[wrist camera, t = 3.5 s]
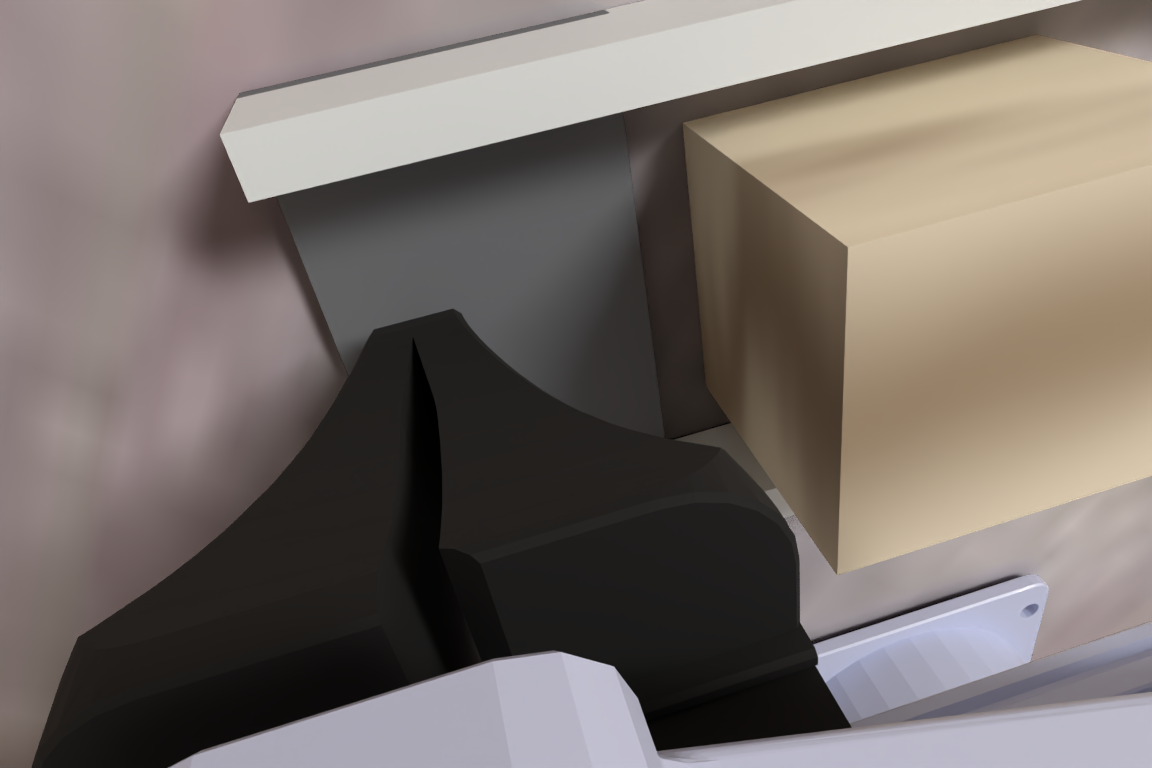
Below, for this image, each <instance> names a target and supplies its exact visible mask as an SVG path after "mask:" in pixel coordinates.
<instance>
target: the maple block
mask: <svg viewBox="0 0 1152 768" xmlns="http://www.w3.org/2000/svg"><path fill="white" fill-rule="evenodd" d="M683 133H684V144H685V156H686V167H687V178H688V189H689V201H690V212H691V223H692V234H693V245H694V257H695V268H696V279H697V290H698V301H699V313H700V324H701V335H702V346H703V357H704V369H705V380H706V387H707V389H708V390H709V392H710V393H711V394H712V396H713V397H714V399H715V400H716V402H717V403H718V405H719V406H720V407H721V409H722V410H723V412H724V413H725V415H726V416H727V417H728V419H729V420H730V422H731V423H732V425H733V426H734V428H735V429H736V430H737V432H738V433H739V435H740V436H741V438H742V439H743V440H744V442H745V443H746V445H747V446H748V448H749V449H750V451H751V452H752V453H753V455H754V456H755V458H756V459H757V461H758V462H759V464H760V465H761V466H762V468H763V469H764V471H765V472H766V474H767V475H768V476H769V478H770V479H771V481H772V482H773V484H774V485H775V487H776V488H777V489H778V491H779V492H780V494H781V495H782V497H783V498H784V499H785V501H786V502H787V504H788V505H789V507H790V508H791V510H792V511H793V512H794V514H795V515H796V517H797V518H798V520H799V521H800V523H801V524H802V525H803V527H804V528H805V530H806V531H807V533H808V534H809V535H810V537H811V538H812V540H813V541H814V543H815V544H816V546H817V547H818V548H819V550H820V551H821V553H822V554H823V556H824V557H825V558H826V560H827V561H828V563H829V564H830V566H831V567H832V569H833V570H834V571H835V573H836V574H837V575H840V574H843V573H846V572H850V571H853V570H856V569H859V568H862V567H865V566H869V565H872V564H875V563H878V562H881V561H884V560H887V559H891V558H894V557H897V556H900V555H903V554H906V553H910V552H913V551H916V550H919V549H922V548H925V547H928V546H932V545H935V544H938V543H941V542H944V541H947V540H951V539H954V538H957V537H960V536H963V535H966V534H969V533H973V532H976V531H979V530H982V529H985V528H988V527H992V526H995V525H998V524H1001V523H1004V522H1007V521H1010V520H1014V519H1017V518H1020V517H1023V516H1026V515H1029V514H1032V513H1036V512H1039V511H1042V510H1045V509H1048V508H1051V507H1055V506H1058V505H1061V504H1064V503H1067V502H1070V501H1073V500H1077V499H1080V498H1083V497H1086V496H1089V495H1092V494H1096V493H1099V492H1102V491H1105V490H1108V489H1111V488H1114V487H1118V486H1121V485H1124V484H1127V483H1130V482H1133V481H1137V480H1140V479H1143V478H1146V477H1149V476H1152V62H1150V61H1146V60H1141V59H1137V58H1133V57H1129V56H1125V55H1120V54H1116V53H1112V52H1108V51H1104V50H1099V49H1095V48H1091V47H1087V46H1083V45H1078V44H1074V43H1070V42H1066V41H1061V40H1057V39H1053V38H1049V37H1045V36H1040V35H1032V36H1028V37H1024V38H1020V39H1016V40H1012V41H1008V42H1004V43H1000V44H996V45H992V46H988V47H984V48H980V49H976V50H972V51H968V52H964V53H960V54H956V55H952V56H948V57H944V58H940V59H936V60H932V61H928V62H924V63H920V64H916V65H912V66H908V67H904V68H900V69H896V70H892V71H888V72H884V73H880V74H876V75H872V76H868V77H864V78H860V79H856V80H852V81H848V82H844V83H840V84H836V85H832V86H828V87H824V88H820V89H816V90H812V91H808V92H804V93H800V94H796V95H792V96H788V97H784V98H780V99H776V100H772V101H768V102H764V103H760V104H756V105H752V106H748V107H744V108H740V109H736V110H732V111H728V112H724V113H720V114H716V115H712V116H708V117H704V118H700V119H696V120H692V121H688V122H684V123H683Z"/></svg>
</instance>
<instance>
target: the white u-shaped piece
mask: <svg viewBox="0 0 1152 768" xmlns="http://www.w3.org/2000/svg"><path fill="white" fill-rule="evenodd" d="M1076 1H1080V0H645V1H641V2H636V3H632V4H628V5H623V6H619V7H615V8H610V9H606V10H601V11H597V12H593V13H588V14H584V15H580V16H575V17H571V18H566V19H562V20H558V21H553V22H549V23H545V24H540V25H536V26H531V27H527V28H523V29H518V30H514V31H509V32H505V33H501V34H496V35H492V36H488V37H483V38H479V39H474V40H470V41H466V42H461V43H457V44H453V45H448V46H444V47H439V48H435V49H431V50H426V51H422V52H418V53H413V54H409V55H404V56H400V57H396V58H391V59H387V60H382V61H378V62H374V63H369V64H365V65H361V66H356V67H352V68H347V69H343V70H339V71H334V72H330V73H326V74H321V75H317V76H312V77H308V78H304V79H299V80H295V81H291V82H286V83H282V84H277V85H273V86H269V87H264V88H260V89H255V90H251V91H247V92H242V93H239V95H238V97H237V99H236V101H235V104H234V106H233V108H232V110H231V112H230V114H229V116H228V118H227V120H226V123H225V125H224V127H223V129H222V131H221V133H220V137H221V139H222V141H223V144H224V146H225V148H226V151H227V153H228V156H229V158H230V160H231V163H232V165H233V167H234V170H235V172H236V174H237V177H238V179H239V181H240V184H241V186H242V188H243V191H244V193H245V196H246V198H247V200H248V203H249V202H254V201H258V200H262V199H266V198H270V197H274V196H276V197H277V200H278V202H279V205H280V207H281V210H282V212H283V215H284V217H285V220H286V222H287V225H288V227H289V229H290V232H291V234H292V237H293V239H294V242H295V244H296V247H297V249H298V252H299V254H300V257H301V259H302V262H303V264H304V267H305V269H306V272H307V274H308V277H309V279H310V282H311V284H312V287H313V289H314V292H315V294H316V297H317V299H318V302H319V304H320V307H321V309H322V312H323V314H324V317H325V319H326V322H327V324H328V327H329V329H330V332H331V334H332V337H333V339H334V342H335V344H336V346H337V349H338V351H339V354H340V356H341V359H342V361H343V364H344V366H345V369H346V371H347V374H348V376H349V375H350V373H351V371H352V369H353V367H354V365H355V363H356V361H357V359H358V357H359V356H360V354H361V352H362V350H363V348H364V346H365V344H366V342H367V340H368V338H369V336H370V335H371V333H372V331H373V330H374V329H377V328H381V327H385V326H389V325H392V324H396V323H400V322H404V321H408V320H411V319H415V318H419V317H423V316H426V315H430V314H434V313H438V312H442V311H445V310H449V309H455V310H457V311H458V312H460V313H462V315H463V317H464V319H465V321H466V322H467V323H468V325H469V326H470V327H471V329H472V330H473V331H474V332H475V333H476V334H477V336H478V337H479V338H480V339H481V340H482V341H483V342H484V343H485V344H486V345H487V346H488V347H489V348H490V349H491V350H492V351H493V352H495V353H496V354H497V355H498V356H499V357H500V358H501V359H502V360H503V361H505V362H506V363H507V364H508V365H509V366H510V367H512V368H513V369H514V370H515V371H517V372H518V373H519V374H521V375H522V376H523V377H525V378H526V379H527V380H529V381H530V382H532V383H533V384H534V385H536V386H537V387H539V388H540V389H542V390H543V391H545V392H547V393H548V394H550V395H551V396H553V397H555V398H557V399H558V400H560V401H562V402H564V403H565V404H567V405H569V406H571V407H573V408H575V409H577V410H579V411H581V412H584V413H586V414H589V415H591V416H594V417H596V418H599V419H601V420H604V421H606V422H609V423H612V424H615V425H618V426H621V427H624V428H627V429H630V430H634V431H638V432H642V433H645V434H649V435H653V436H657V437H661V438H665V435H664V427H663V419H662V412H661V404H660V396H659V388H658V380H657V373H656V365H655V357H654V349H653V342H652V334H651V326H650V318H649V310H648V303H647V295H646V287H645V279H644V272H643V264H642V256H641V248H640V241H639V233H638V225H637V217H636V209H635V202H634V194H633V186H632V178H631V171H630V163H629V155H628V147H627V139H626V132H625V124H624V116H623V112H624V111H628V110H632V109H636V108H640V107H644V106H648V105H653V104H657V103H661V102H665V101H669V100H673V99H677V98H681V97H685V96H690V95H694V94H698V93H702V92H706V91H710V90H714V89H718V88H722V87H727V86H731V85H735V84H739V83H743V82H747V81H751V80H755V79H759V78H764V77H768V76H772V75H776V74H780V73H784V72H788V71H792V70H796V69H801V68H805V67H809V66H813V65H817V64H821V63H825V62H829V61H833V60H838V59H842V58H846V57H850V56H854V55H858V54H862V53H866V52H871V51H875V50H879V49H883V48H887V47H891V46H895V45H899V44H903V43H908V42H912V41H916V40H920V39H924V38H928V37H932V36H936V35H940V34H945V33H949V32H953V31H957V30H961V29H965V28H969V27H973V26H977V25H982V24H986V23H990V22H994V21H998V20H1002V19H1006V18H1010V17H1014V16H1019V15H1023V14H1027V13H1031V12H1035V11H1039V10H1043V9H1047V8H1051V7H1056V6H1060V5H1064V4H1068V3H1072V2H1076ZM674 440H678V441H684V442H690V443H696V444H703V445H709V446H715V447H721V448H722V449H724V450H725V451H726V452H727V453H728V454H729V455H730V456H731V457H732V458H733V459H734V460H735V461H736V462H737V463H738V464H739V465H740V466H741V467H742V468H743V469H744V470H745V471H746V472H747V473H748V474H749V475H750V476H751V478H752V479H753V480H754V481H755V482H756V483H757V484H758V485H759V486H760V487H761V488H762V489H763V491H764V492H765V493H766V494H767V495H768V496H769V498H770V499H771V500H772V502H773V503H774V504H775V505H776V507H777V508H778V510H779V511H780V513H781V514H782V516H783V517H784V518H787V517H790V516H794V515H795V514H794V512H793V511H792V510H791V508H790V507H789V505H788V504H787V502H786V501H785V499H784V498H783V497H782V495H781V494H780V492H779V491H778V489H777V488H776V487H775V485H774V484H773V482H772V481H771V479H770V478H769V476H768V475H767V474H766V472H765V471H764V469H763V468H762V466H761V465H760V464H759V462H758V461H757V459H756V458H755V456H754V455H753V453H752V452H751V451H750V449H749V448H748V446H747V445H746V443H745V442H744V440H743V439H742V438H741V436H740V435H739V433H738V432H737V430H736V429H735V428H734V426H733V425H732V423H729V424H726V425H723V426H719V427H716V428H712V429H709V430H705V431H702V432H698V433H695V434H692V435H688V436H685V437H681V438H678V439H674Z"/></svg>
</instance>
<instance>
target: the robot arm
mask: <svg viewBox="0 0 1152 768" xmlns="http://www.w3.org/2000/svg"><path fill="white" fill-rule="evenodd" d="M1048 592H1049V587H1048V585H1047V584H1046V583H1045V582H1044V581H1043V580H1042V579H1041V578H1040V577H1039V576H1038V575H1034V574H1029V575H1024V576H1021V577H1018V578H1015V579H1012V580H1009V581H1006V582H1003V583H1000V584H996V585H993V586H990V587H987V588H984V589H981V590H978V591H975V592H972V593H969V594H966V595H963V596H960V597H957V598H954V599H950V600H947V601H944V602H941V603H938V604H935V605H932V606H929V607H926V608H923V609H920V610H917V611H914V612H911V613H908V614H904V615H901V616H898V617H895V618H892V619H889V620H886V621H883V622H880V623H877V624H874V625H871V626H868V627H865V628H862V629H858V630H855V631H852V632H849V633H846V634H843V635H840V636H837V637H834V638H831V639H828V640H825V641H822V642H819V643H816V644H813V643H812V642H811V640H810V638H809V637H808V635H807V634H806V632H805V630H804V629H803V627H802V625H801V624H800V572H799V554H798V549H797V544H796V539H795V535H794V534H793V532H792V531H791V529H790V528H789V526H788V524H787V522H786V520H785V519H784V517H783V516H782V514H781V513H780V511H779V510H778V508H777V507H776V505H775V504H774V503H773V502H772V500H771V499H770V498H769V496H768V495H767V494H766V493H765V492H764V491H763V489H762V488H761V487H760V486H759V485H758V484H757V483H756V482H755V481H754V480H753V479H752V478H751V476H750V475H749V474H748V473H747V472H746V471H745V470H744V469H743V468H742V467H741V466H740V465H739V464H738V463H737V462H736V461H735V460H734V459H733V458H732V457H731V456H730V455H729V454H728V453H727V452H726V451H725V450H724V449H722V448H721V447H715V446H709V445H703V444H696V443H690V442H684V441H678V440H671V439H665V438H661V437H657V436H653V435H649V434H645V433H642V432H638V431H634V430H630V429H627V428H624V427H621V426H618V425H615V424H612V423H609V422H606V421H604V420H601V419H599V418H596V417H594V416H591V415H589V414H586V413H584V412H581V411H579V410H577V409H575V408H573V407H571V406H569V405H567V404H565V403H564V402H562V401H560V400H558V399H557V398H555V397H553V396H551V395H550V394H548V393H547V392H545V391H543V390H542V389H540V388H539V387H537V386H536V385H534V384H533V383H532V382H530V381H529V380H527V379H526V378H525V377H523V376H522V375H521V374H519V373H518V372H517V371H515V370H514V369H513V368H512V367H510V366H509V365H508V364H507V363H506V362H505V361H503V360H502V359H501V358H500V357H499V356H498V355H497V354H496V353H495V352H493V351H492V350H491V349H490V348H489V347H488V346H487V345H486V344H485V343H484V342H483V341H482V340H481V339H480V338H479V337H478V336H477V334H476V333H475V332H474V331H473V330H472V329H471V327H470V326H469V325H468V323H467V322H466V321H465V319H464V317H463V315H462V313H460V312H458V311H457V310H455V309H449V310H445V311H442V312H438V313H434V314H430V315H426V316H423V317H419V318H415V319H411V320H408V321H404V322H400V323H396V324H392V325H389V326H385V327H381V328H377V329H374V330H373V331H372V333H371V335H370V336H369V338H368V340H367V342H366V344H365V346H364V348H363V350H362V352H361V354H360V356H359V357H358V359H357V361H356V363H355V365H354V367H353V369H352V371H351V373H350V375H349V377H348V379H347V380H346V382H345V384H344V386H343V387H342V389H341V391H340V393H339V394H338V396H337V398H336V400H335V401H334V403H333V405H332V407H331V408H330V410H329V411H328V413H327V414H326V416H325V417H324V419H323V420H322V422H321V423H320V425H319V426H318V428H317V429H316V431H315V432H314V434H313V435H312V437H311V438H310V440H309V441H308V442H307V444H306V445H305V446H304V448H303V449H302V450H301V451H300V453H299V454H298V455H297V456H296V458H295V459H294V460H293V461H292V462H291V464H290V465H289V466H288V467H287V468H286V469H285V470H284V472H283V473H282V474H281V475H280V476H279V477H278V479H277V480H276V481H275V482H274V483H273V484H272V485H271V486H270V487H269V488H268V490H267V491H265V492H264V493H263V494H262V495H261V496H260V497H259V498H258V499H257V500H256V501H255V502H254V503H253V504H252V505H251V506H250V507H249V508H248V509H247V510H246V511H245V512H244V513H243V514H242V515H241V516H240V517H239V518H238V519H237V520H236V521H235V522H234V523H233V524H231V525H230V526H229V527H228V528H227V529H226V530H225V531H224V532H223V533H222V534H221V535H219V536H218V537H217V538H216V539H215V540H213V541H212V542H211V543H210V544H209V545H207V546H206V547H205V548H204V549H203V550H201V551H200V552H199V553H198V554H197V555H195V556H194V557H193V558H192V559H190V560H189V561H188V562H186V563H185V564H184V565H183V566H181V567H180V568H179V569H177V570H176V571H175V572H174V573H172V574H171V575H170V576H168V577H167V578H166V579H164V580H163V581H161V582H160V583H159V584H157V585H156V586H155V587H153V588H152V589H150V590H149V591H147V592H146V593H144V594H143V595H141V596H140V597H138V598H137V599H136V600H134V601H133V602H131V603H130V604H128V605H127V606H125V607H124V608H122V609H121V610H119V611H118V612H116V613H115V614H113V615H112V616H110V617H109V618H107V619H106V620H104V621H103V622H101V623H100V624H98V625H97V626H95V627H94V628H92V629H90V630H89V631H87V632H86V633H84V634H82V635H81V636H79V637H78V639H77V641H76V644H75V646H74V648H73V651H72V653H71V656H70V658H69V661H68V663H67V665H66V668H65V670H64V673H63V675H62V678H61V681H60V684H59V687H58V690H57V693H56V696H55V699H54V702H53V704H52V707H51V710H50V713H49V716H48V719H47V722H46V725H45V728H44V731H43V734H42V737H41V740H40V743H39V746H38V749H37V752H36V755H35V758H34V762H33V765H32V768H1152V621H1150V622H1147V623H1144V624H1141V625H1138V626H1135V627H1132V628H1129V629H1126V630H1123V631H1120V632H1117V633H1114V634H1112V635H1109V636H1106V637H1103V638H1100V639H1097V640H1094V641H1091V642H1088V643H1085V644H1082V645H1079V646H1076V647H1073V648H1070V649H1067V650H1064V651H1061V652H1058V653H1056V654H1053V655H1050V656H1047V657H1044V658H1041V659H1038V660H1035V661H1032V662H1030V659H1031V656H1032V652H1033V648H1034V645H1035V641H1036V637H1037V633H1038V630H1039V626H1040V622H1041V619H1042V615H1043V611H1044V607H1045V604H1046V600H1047V596H1048Z"/></svg>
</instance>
